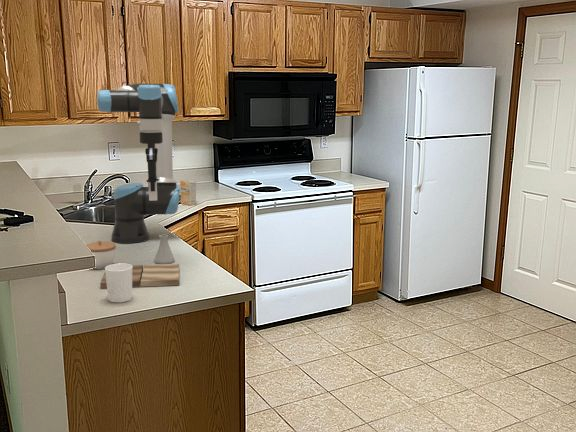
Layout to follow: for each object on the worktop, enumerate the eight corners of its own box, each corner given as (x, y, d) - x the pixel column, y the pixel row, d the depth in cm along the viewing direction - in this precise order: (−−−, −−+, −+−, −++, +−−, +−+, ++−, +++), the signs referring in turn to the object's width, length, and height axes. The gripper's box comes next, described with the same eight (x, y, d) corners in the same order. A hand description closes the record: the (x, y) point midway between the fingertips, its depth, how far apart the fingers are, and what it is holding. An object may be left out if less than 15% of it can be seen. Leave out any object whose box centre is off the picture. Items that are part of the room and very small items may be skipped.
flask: (165, 257, 219) (165, 232, 217) (178, 261, 215) (178, 235, 213) (150, 261, 214) (149, 235, 212) (163, 265, 209) (162, 238, 207)
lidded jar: (115, 260, 215) (114, 236, 213) (118, 269, 205) (117, 243, 203) (84, 263, 211) (83, 238, 209) (86, 272, 201) (84, 245, 199)
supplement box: (180, 203, 323) (179, 180, 320) (186, 202, 327) (186, 179, 324) (190, 205, 318) (189, 182, 315) (196, 204, 322) (196, 181, 319)
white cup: (101, 298, 176) (100, 266, 174) (125, 292, 181) (124, 261, 179) (114, 305, 170) (113, 272, 168) (138, 299, 176) (137, 267, 174)
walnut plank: (107, 271, 202) (107, 266, 201) (143, 270, 204) (143, 264, 203) (100, 288, 184) (100, 282, 184) (139, 287, 186) (139, 281, 186)
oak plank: (144, 269, 204) (144, 264, 203) (179, 268, 206) (179, 263, 205) (140, 286, 186) (140, 281, 186) (179, 285, 188) (178, 279, 188)
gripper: (140, 130, 203) (143, 196, 208) (138, 132, 190) (140, 203, 195) (162, 130, 204) (164, 196, 209) (161, 132, 192) (163, 203, 197)
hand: (153, 200), depth 202 cm, fingers closed
